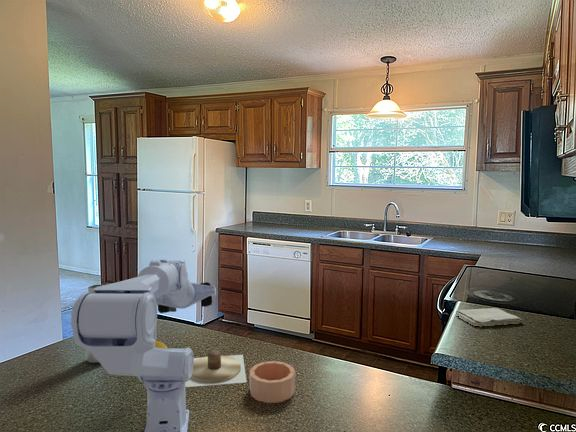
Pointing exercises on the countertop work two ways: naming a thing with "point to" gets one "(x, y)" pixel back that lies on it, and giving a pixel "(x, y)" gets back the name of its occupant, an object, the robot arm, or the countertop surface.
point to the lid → (215, 368)
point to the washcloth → (487, 315)
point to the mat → (237, 379)
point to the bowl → (272, 381)
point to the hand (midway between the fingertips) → (190, 305)
